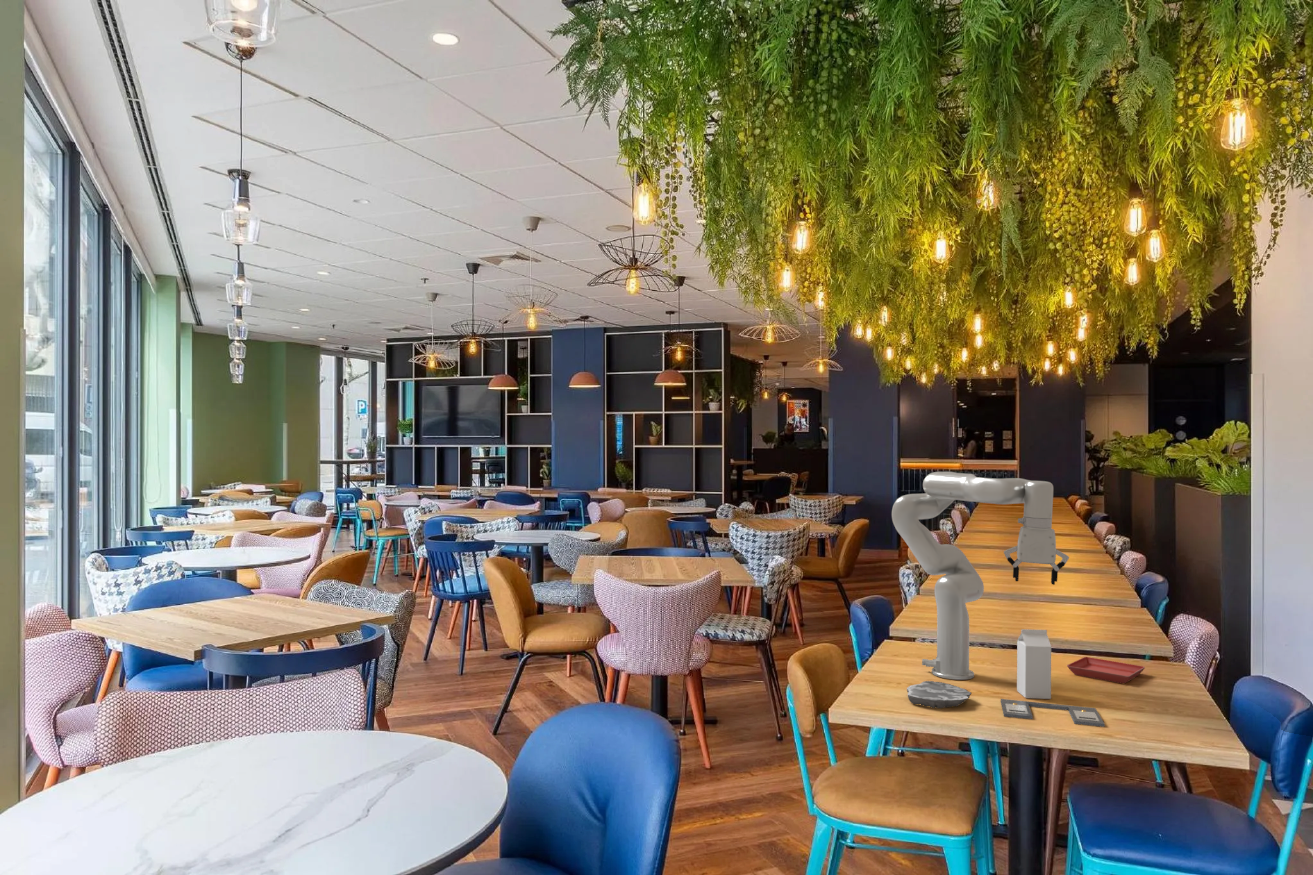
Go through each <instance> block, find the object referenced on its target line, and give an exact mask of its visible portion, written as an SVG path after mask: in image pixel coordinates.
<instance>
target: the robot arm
mask: <svg viewBox="0 0 1313 875" xmlns="http://www.w3.org/2000/svg"><path fill="white" fill-rule="evenodd" d="M922 488H923V491H924V493H909V494H905V495H901V496H900V497H898V498H896V500H895V501H894V503H893V505H892V509H891V520H892V523H893V526H894V527H895V528H894V529H895V530H896V532H897V533H898V534H899V535H900V537H901V538H902V539H903V541H904V542H905V543H906V545H907V546H908V548H909V550H910V551H911V553H912V554H913V557H915V559H916V561H917V562H918V563H919V565H920V566H921V568H922V569H923V571H924V572H925V573H927V574H928V575H931V576H940V575H942V576H940V577H939V578H938V579H937V581H936V582H935V584H934V598H935V603H936V618H937V619H936V625H937V626H936V633H937V634H936V656H935V658H932V659H925V658H922V659H921V665H922V666H925V667H927V668H930V667H932V668H931V673H932V675H933V676H936V677H938V678H943V679H945V680H946V679H947V680H956V681H961V680H962V681H963V680H965V681H966V680H971V679H973V678H974V677H975V672H974V671H973V670H970V616H969V611H968V608H967V605H966V604H967V603H972V602H975V601H977V600H980V598H982V596H983V595H984V592H985V586H984V582H983V579H982V577H981V576H980V574H979V572H977V570H976V569H975V567H974V566H973V565H972V563H971V562H970V560H969V559H968V557H967V556H966V555H965V553H964V552H963V551H962V550H961V549H960V548H959V547H957V546H956V545H954V544H951V543H950V544H949V543H948V544H947V543H945V544H943V543H942V544H941V543H939V542H938V541H937V540H936V538H935V537H934V535H933V533H932V532H931V531H930V530H929V529H928V527H926V526H925V525H924V524H923V523H921V522H920V520H929V519H933V518H936V517H938V516H939V515H940V514H941V513H942V512H944V510H946V509H947V508H948V507H949V506H950V505H952V503H953V502H955V501H965V502H972V503H973V502H975V503H983V504H995V505H1012V504H1013V505H1014V504H1023V517H1021V518H1019V517H1018V519H1017V523H1018V524H1022V526H1020V529H1019V532H1018V538H1017V545H1016V546H1013V547H1011V548H1008V549H1005V550H1003V554H1004V556H1005V558H1006V560H1007V562H1008V563H1009V564H1010V565H1011V566H1012V568H1013V569H1012V570H1013V571H1012V578H1013V579H1014V580H1015V582H1019V577H1020V576H1019V573H1020V567H1019V566H1020V564H1022V563H1028V564H1039V565H1040V564H1041V565H1050V566H1051V567H1052V569H1051V574H1050V575H1051V576H1050V583H1051V585H1053V586H1054V585H1056V584H1055V583H1056V582H1057V583H1058V575H1059V574H1058V573H1059V572H1058V571H1060V570H1061V569H1062V568H1063V567H1064V566H1065V565H1066V564H1067V562H1068V561H1069V559H1070V556H1069V555H1067V554H1066V553H1064V552H1062V551H1060V550H1058V549H1057V541H1056V540H1057V539H1056V533H1055V529H1053V528H1052V525H1053V524H1052V523H1053V505H1054V504H1053V502H1054V485H1053V483H1051V482H1050V481H1045V480H1030V479H1025V478H1019V477H1015V478H1013V477H1010V478H1009V477H1008V478H992V477H981V476H979V477H978V476H976V475H975V474H974V473H961V472H954V471H935V472H933V471H932V472H930V473H929V474H927V475H926V476H925V478H924V479H923V482H922ZM1015 552H1016V556H1017V558H1016V559H1015V560H1014V559H1013V558H1012V557H1011V554H1013V553H1015ZM1057 556H1058V557H1060V558H1061V560H1060V561H1059V562H1058V563H1056V559H1057V558H1056V557H1057Z"/></svg>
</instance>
